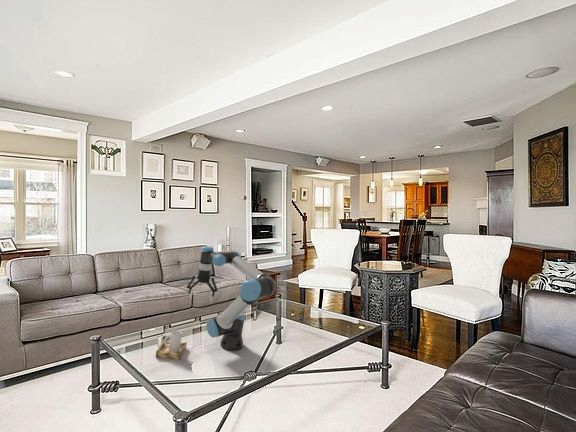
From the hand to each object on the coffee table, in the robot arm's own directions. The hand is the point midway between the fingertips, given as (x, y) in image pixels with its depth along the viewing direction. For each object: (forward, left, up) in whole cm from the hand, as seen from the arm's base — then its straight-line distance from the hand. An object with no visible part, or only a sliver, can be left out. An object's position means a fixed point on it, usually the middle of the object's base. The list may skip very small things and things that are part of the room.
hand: (200, 299), depth 234 cm
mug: (+10, +24, -26) cm, 37 cm away
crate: (+10, +24, -27) cm, 37 cm away
